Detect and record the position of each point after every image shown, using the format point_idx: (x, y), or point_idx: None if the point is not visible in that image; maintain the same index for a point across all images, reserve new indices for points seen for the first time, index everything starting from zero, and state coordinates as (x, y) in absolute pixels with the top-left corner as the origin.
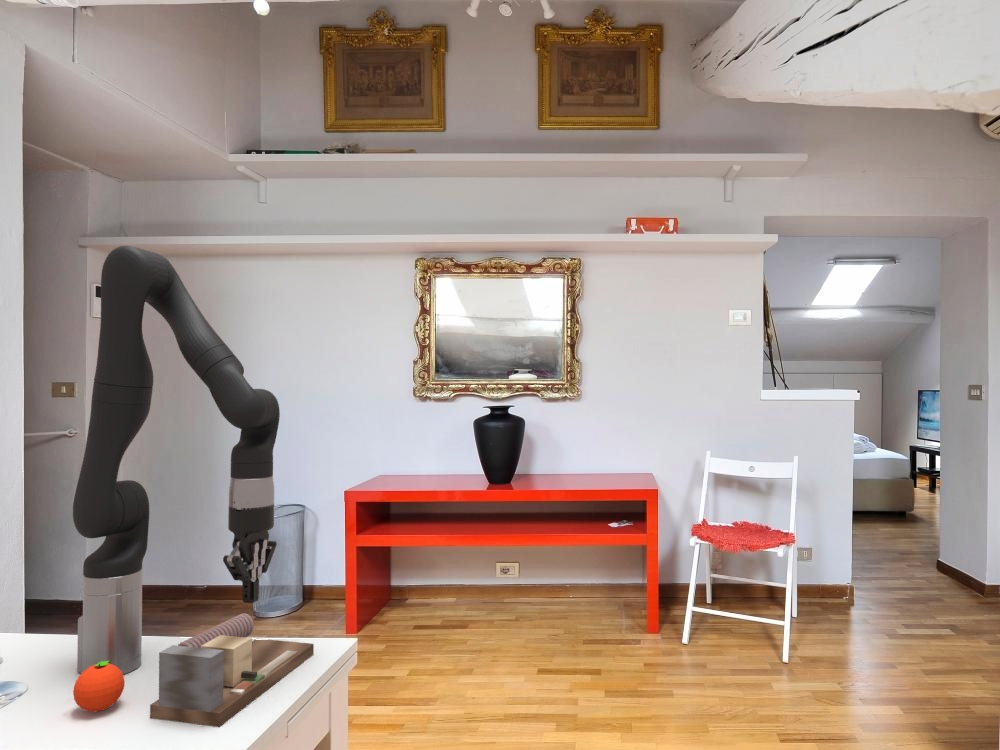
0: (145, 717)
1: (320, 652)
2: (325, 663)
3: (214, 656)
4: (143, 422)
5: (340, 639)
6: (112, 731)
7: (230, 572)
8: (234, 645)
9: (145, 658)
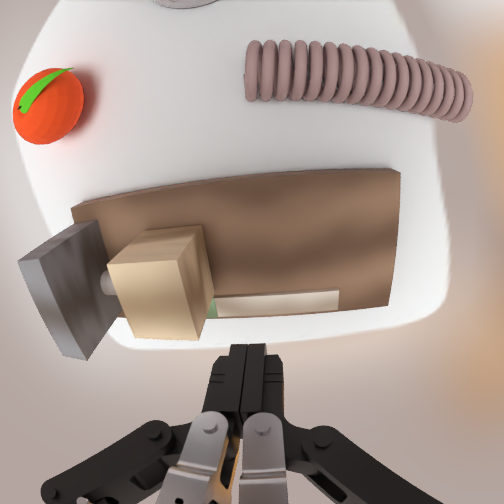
0: (81, 193)
1: (391, 298)
2: (347, 329)
3: (69, 356)
4: None
5: (444, 295)
6: (48, 187)
7: (105, 451)
8: (148, 329)
9: None
